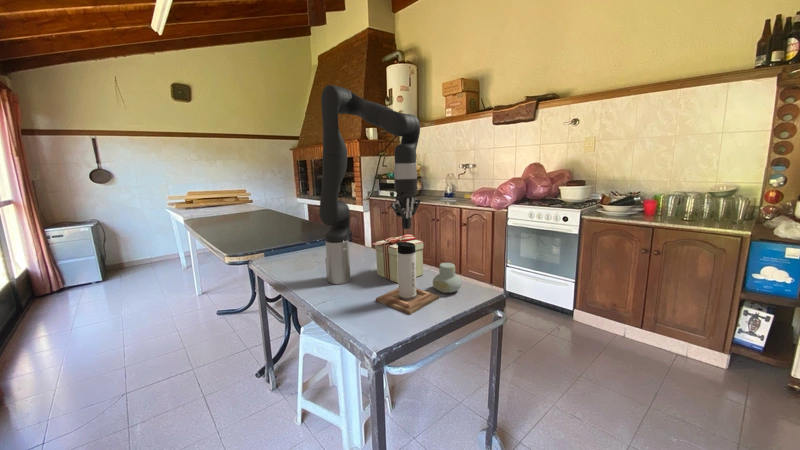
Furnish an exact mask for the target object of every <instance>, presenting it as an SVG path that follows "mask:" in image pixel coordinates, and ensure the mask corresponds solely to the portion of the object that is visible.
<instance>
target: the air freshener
mask: <svg viewBox="0 0 800 450" xmlns="http://www.w3.org/2000/svg"><path fill="white" fill-rule="evenodd" d="M438 273H439V274H437V275H436V276H434V278H433V279H432V286H433V287H434V288H435V289H436V290H437V291H439V292H440V293H442V294H443V293H444V294H451V293H454V292H455V293H456V292H457V291H458V290H460V289H461V288H462V285H463V283H462V279H461V278H460V277H459V276H458V275H457V274H456V265H455V264H454V263H452V262H442V263H440V264H439V271H438Z"/></svg>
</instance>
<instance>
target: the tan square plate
mask: <svg viewBox="0 0 800 450" xmlns="http://www.w3.org/2000/svg"><path fill="white" fill-rule="evenodd" d="M439 299H440V295H439V294H435V293H433V292H429V291H426V290H423V289H420V288H417V287H416V298H415V299H413V300H402V299H400V298H399V287H398V288H394V289H393V290H391V291H389V292H386V293H384V294H381V295H380V296H378V297H376V298H375V301H376V302H378V303H380V304H382V305H386V306H387V307H390V308H393V309H395V310H398V311H401V312H403V313H406V314H407V315H408V314H409V315H412V314H414V313H416V312H417V311H419V310H421V309H423V308H424V307H426V306H428V305H430V304H431V303H433V302H435V301H437V300H439Z"/></svg>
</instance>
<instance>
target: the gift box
mask: <svg viewBox="0 0 800 450" xmlns="http://www.w3.org/2000/svg"><path fill="white" fill-rule="evenodd" d="M397 242H410V243H413V244H414V245H415V250H416V278H417V277H420V276H423V275H424V258H423V256H424V255H423V250H424V241H422V240H419V239H417V237H415V236H414V235H413V234H411V233H406V234H403V235H401V236H396V237H388V238H384V240H379V241H375V242H371V245H373V246H374V250H375V253H376V254H375V255H376V274H377V276H380V277H381V278H384V279H386V280H389V281H392V282H394V283H396V284H398V245H396V243H397Z"/></svg>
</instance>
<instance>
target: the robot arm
mask: <svg viewBox="0 0 800 450" xmlns="http://www.w3.org/2000/svg"><path fill="white" fill-rule="evenodd" d="M320 101H321V102H320V104H321V118H322V119H321V121H322V159H321V163H322V175H321V177H322V179H321V192H320V193H321V194H320V201H319V218H320V221H321V223H323V225H325V226H330V228H329V229H328V230H327V232H326V233H325V235H324V239H325V240H324V241H325V252H326V253H325V254H326V256H325V269H326V270H325V271H326V281H328V283H330V284H333V285H341V284H342V285H343V284H347V283H348V282H350V281H351V263H350V262H351V261H350V243H349V240H350V239H349V235H350V232H351V213H350V211H351V210H350V208H349V205H348V204H347V202H345V201H344V200H340V199H339V189H340V187H341V184H342V183H343V179H344V177H345V175H346V173H347V168H348V147H347V145H346V142H345V140H344V138H343V136H342V134H341V130H340V128H339V126H340V125H339V115H353V116H357V117H359V118H362V119H363V120H364V121H365V122H366V123H369V124H371V125H373V126H376V127H378V128H380V129H383V130H385V131H386V132H387V133H389V134H391V135H394V136H396V137H401V139H400V140H401V141H400V143H399V144H397V145H396V146H394V167H393V169H394V170H393V172H394V174H393V176H394V178H393V179H394V181H393V182H394V183H393V184H394V186H393V187H394V192H395V193H396V196H395V201H394V202H391V204H390V207H391V209H392V210H393V211H394V212H395V215H396V216H397V218H398V217H399V218H401V226H402V228H403V230H409V229H411V225H412V224H411V223H412V221H411V219H412V217H413V216H415V215H416V212H417V210H418V208H419V206H420V203H421V200H420V199H418V198H417V196H416V192H417V191H418V169H417V147H418V142H419V138H420V132H421V124H420V121H419V118H418V117H417V116H416V115H414V114H411V113H410V114H409V113H406V112H405V113H403V112H398V111H397V110H396V111H395V110H394V109H393V108H391V107H390V106H389V107H388V106H386V105H383V104H381V103H377V102H375V101H370V100H367V99H364V98H362V97H361V96H359V95H357V94H356V93H354V92H353V91H351V90H349V89H348V88H346V87H344V86H343V87H341V86H337V85H333V84H328V85H325V86H324V88H323V90H322V91H321V97H320Z"/></svg>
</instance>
